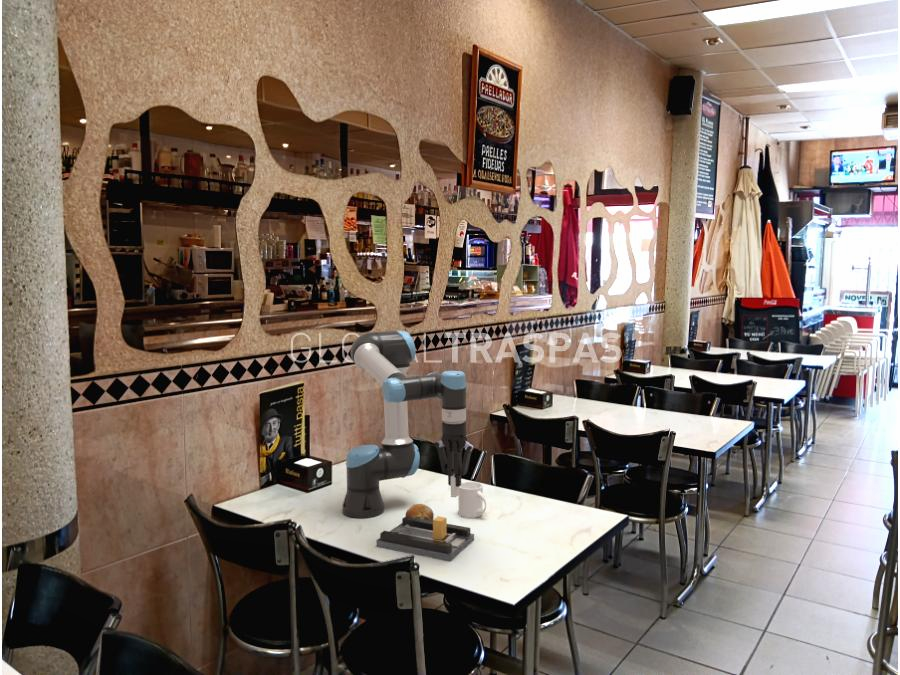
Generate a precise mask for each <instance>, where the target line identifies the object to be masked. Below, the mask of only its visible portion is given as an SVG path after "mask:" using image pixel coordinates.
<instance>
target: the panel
mask: <svg viewBox="0 0 900 675" xmlns="http://www.w3.org/2000/svg"><path fill="white" fill-rule="evenodd" d="M379 536H380V537H379V538H378V539H376V547H378V548H383V549H387V550H388V549H389V550H392V551H398V552H403V553H409V554H413V555H416V556H417V555H418V556H422V557H428V558H431V557H432V558H433V559H437V560H442V561H447V562H451V561H452V560H453V559H455V558H456V557H457V556H458V555H460V553H462V551H464V550H465V549H466V548H467V547H468V546H469V545H471V544H472V543H473V542H474V541H475V533H472V532H471V527H468V526H462V525H456V524H451V523H447V538H446V539H445V540H444V541H441V540H436V539H433V521H429V520H424V519H418V518H413V517H407V516H406V515H405V516H404V517H402V520H401V523H400V524H398V525H397V526H395V527H394V528H392V529H391V530H390V531H388V530H383V531H382V532H380V535H379Z"/></svg>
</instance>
